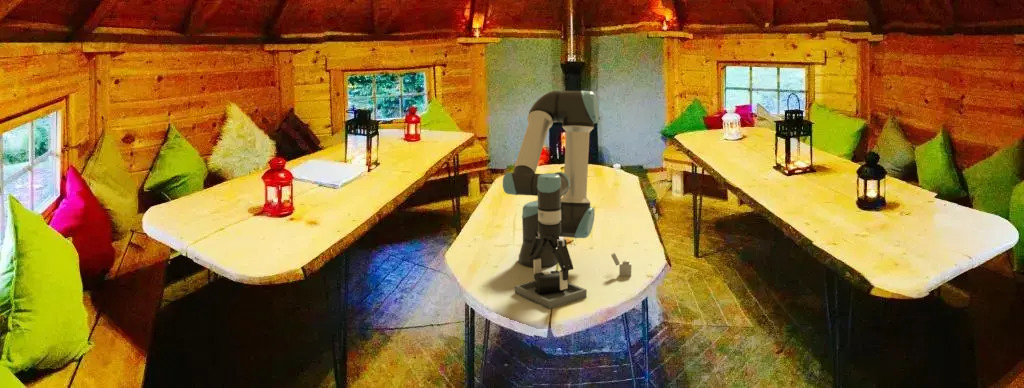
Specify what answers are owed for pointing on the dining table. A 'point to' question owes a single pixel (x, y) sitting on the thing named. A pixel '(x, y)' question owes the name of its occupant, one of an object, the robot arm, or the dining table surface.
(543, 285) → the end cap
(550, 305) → the seat tray
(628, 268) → the lighter
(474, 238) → the dining table surface
